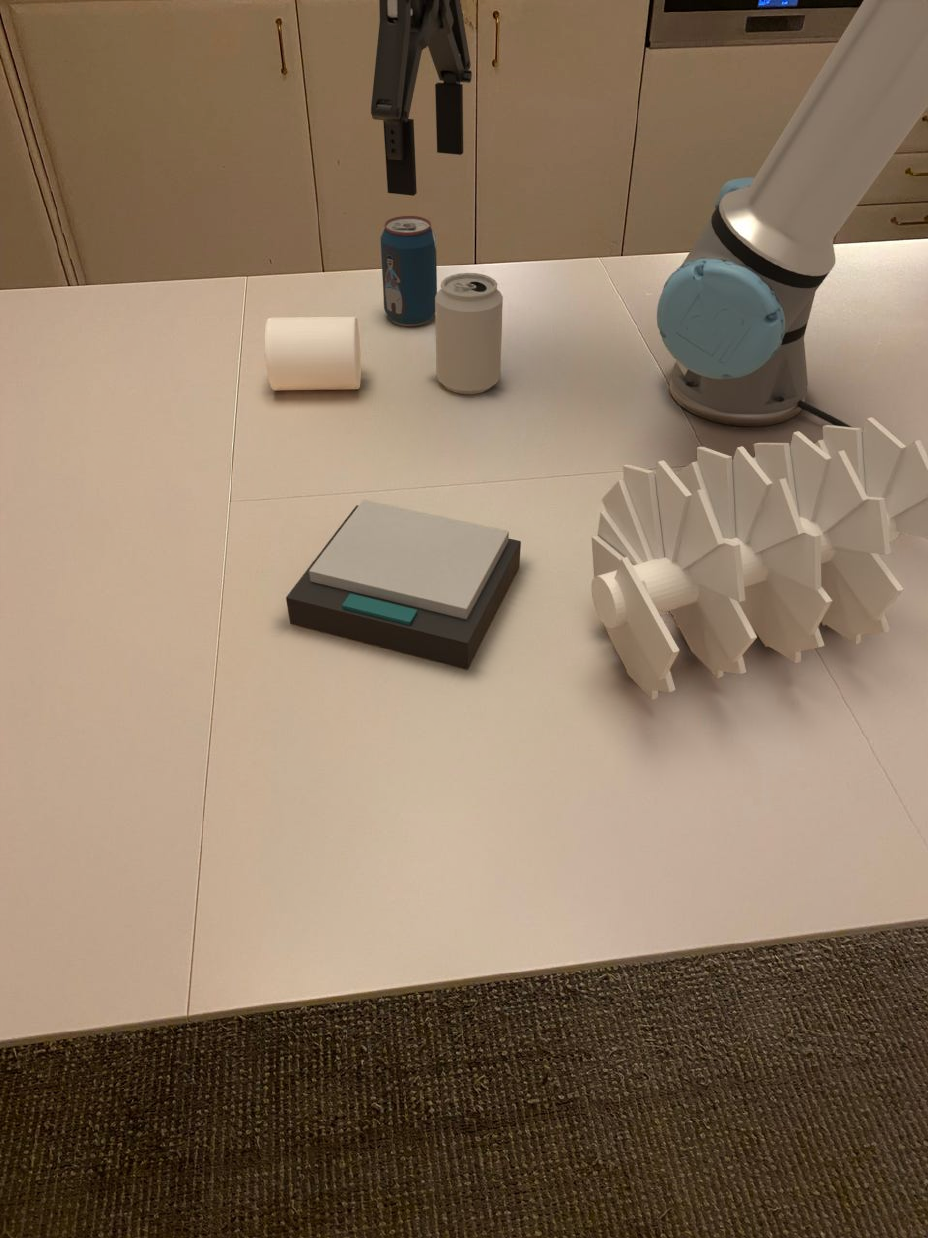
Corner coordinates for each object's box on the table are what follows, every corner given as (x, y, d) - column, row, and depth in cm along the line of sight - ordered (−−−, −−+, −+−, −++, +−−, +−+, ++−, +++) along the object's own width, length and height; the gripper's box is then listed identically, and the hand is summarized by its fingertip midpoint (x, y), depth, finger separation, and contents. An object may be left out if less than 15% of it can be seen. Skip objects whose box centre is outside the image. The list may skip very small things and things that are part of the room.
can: (510, 390, 110) (514, 290, 102) (450, 402, 108) (449, 300, 100) (485, 362, 116) (487, 264, 108) (427, 373, 114) (425, 274, 105)
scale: (519, 567, 86) (521, 529, 83) (467, 670, 77) (468, 631, 74) (358, 530, 90) (355, 494, 87) (289, 624, 81) (283, 586, 78)
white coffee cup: (358, 401, 108) (353, 335, 103) (270, 403, 108) (261, 337, 103) (363, 353, 117) (358, 290, 112) (282, 354, 117) (273, 291, 112)
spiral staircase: (572, 673, 82) (818, 595, 88) (676, 751, 66) (969, 648, 71) (536, 465, 76) (801, 396, 82) (640, 494, 60) (962, 405, 66)
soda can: (440, 306, 127) (439, 214, 119) (433, 329, 122) (432, 235, 114) (389, 304, 128) (384, 212, 120) (380, 327, 123) (375, 232, 115)
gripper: (429, -104, 92) (435, 135, 106) (315, -73, 74) (341, 208, 89) (503, -102, 90) (500, 140, 104) (404, -70, 73) (417, 216, 87)
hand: (427, 172), depth 96 cm, fingers open, 13 cm apart
